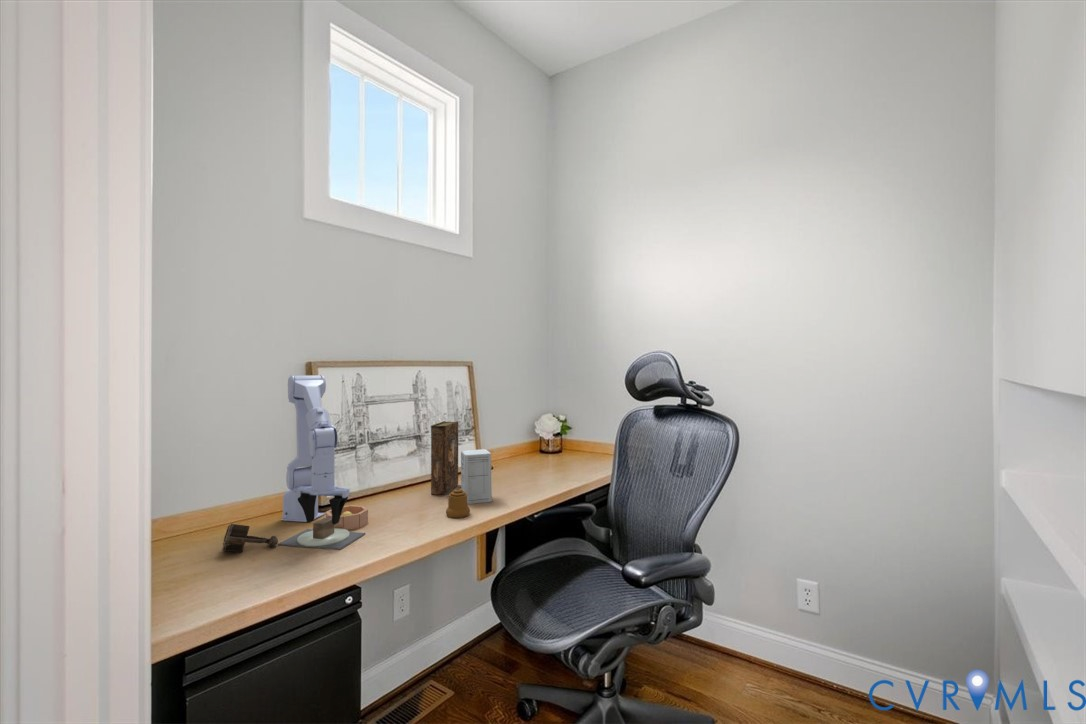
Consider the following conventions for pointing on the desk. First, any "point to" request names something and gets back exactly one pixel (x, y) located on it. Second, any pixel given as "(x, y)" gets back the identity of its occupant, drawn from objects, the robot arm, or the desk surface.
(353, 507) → the bowl
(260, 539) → the dark brown handled piece
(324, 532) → the lid
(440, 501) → the desk surface
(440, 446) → the book
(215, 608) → the desk surface
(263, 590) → the desk surface
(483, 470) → the grey cabinet
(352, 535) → the mat
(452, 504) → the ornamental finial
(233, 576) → the desk surface
